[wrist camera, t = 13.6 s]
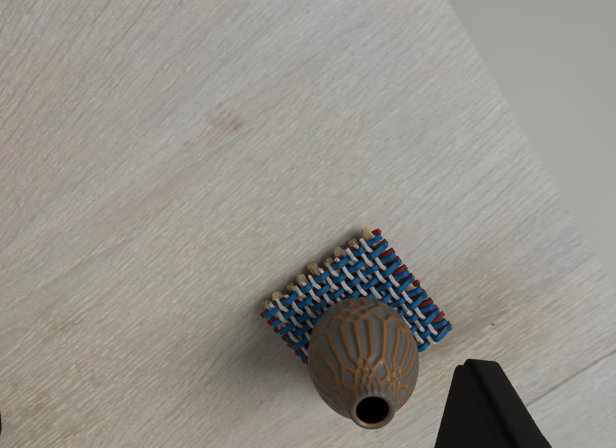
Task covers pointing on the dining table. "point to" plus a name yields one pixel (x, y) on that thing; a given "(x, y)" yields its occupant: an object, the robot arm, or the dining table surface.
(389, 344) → the vase
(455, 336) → the dining table surface
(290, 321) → the woven mat
